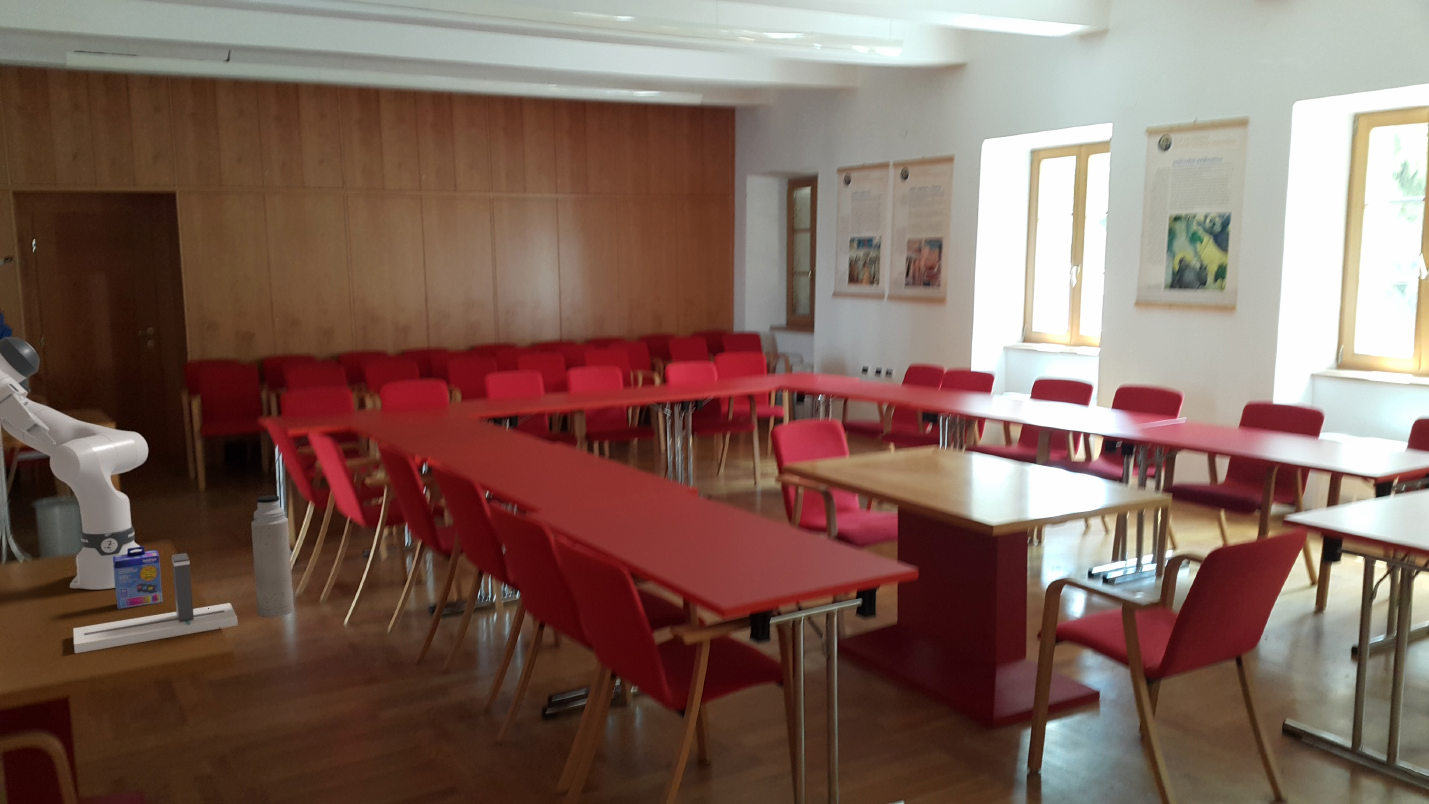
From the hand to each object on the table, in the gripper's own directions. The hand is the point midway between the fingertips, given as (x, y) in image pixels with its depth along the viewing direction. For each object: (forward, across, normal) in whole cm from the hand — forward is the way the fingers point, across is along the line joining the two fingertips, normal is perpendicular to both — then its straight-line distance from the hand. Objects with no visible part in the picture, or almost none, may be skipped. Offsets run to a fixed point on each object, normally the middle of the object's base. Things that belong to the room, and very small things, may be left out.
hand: (52, 445), depth 235 cm
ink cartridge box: (+38, -25, -13) cm, 47 cm away
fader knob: (+47, -1, -7) cm, 48 cm away
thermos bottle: (+61, -3, +7) cm, 61 cm away
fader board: (+45, -1, -13) cm, 47 cm away
